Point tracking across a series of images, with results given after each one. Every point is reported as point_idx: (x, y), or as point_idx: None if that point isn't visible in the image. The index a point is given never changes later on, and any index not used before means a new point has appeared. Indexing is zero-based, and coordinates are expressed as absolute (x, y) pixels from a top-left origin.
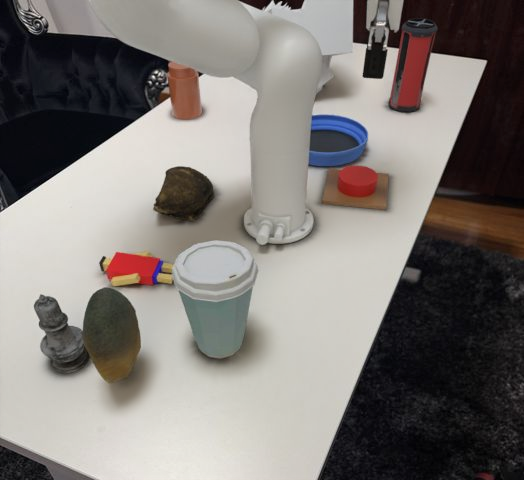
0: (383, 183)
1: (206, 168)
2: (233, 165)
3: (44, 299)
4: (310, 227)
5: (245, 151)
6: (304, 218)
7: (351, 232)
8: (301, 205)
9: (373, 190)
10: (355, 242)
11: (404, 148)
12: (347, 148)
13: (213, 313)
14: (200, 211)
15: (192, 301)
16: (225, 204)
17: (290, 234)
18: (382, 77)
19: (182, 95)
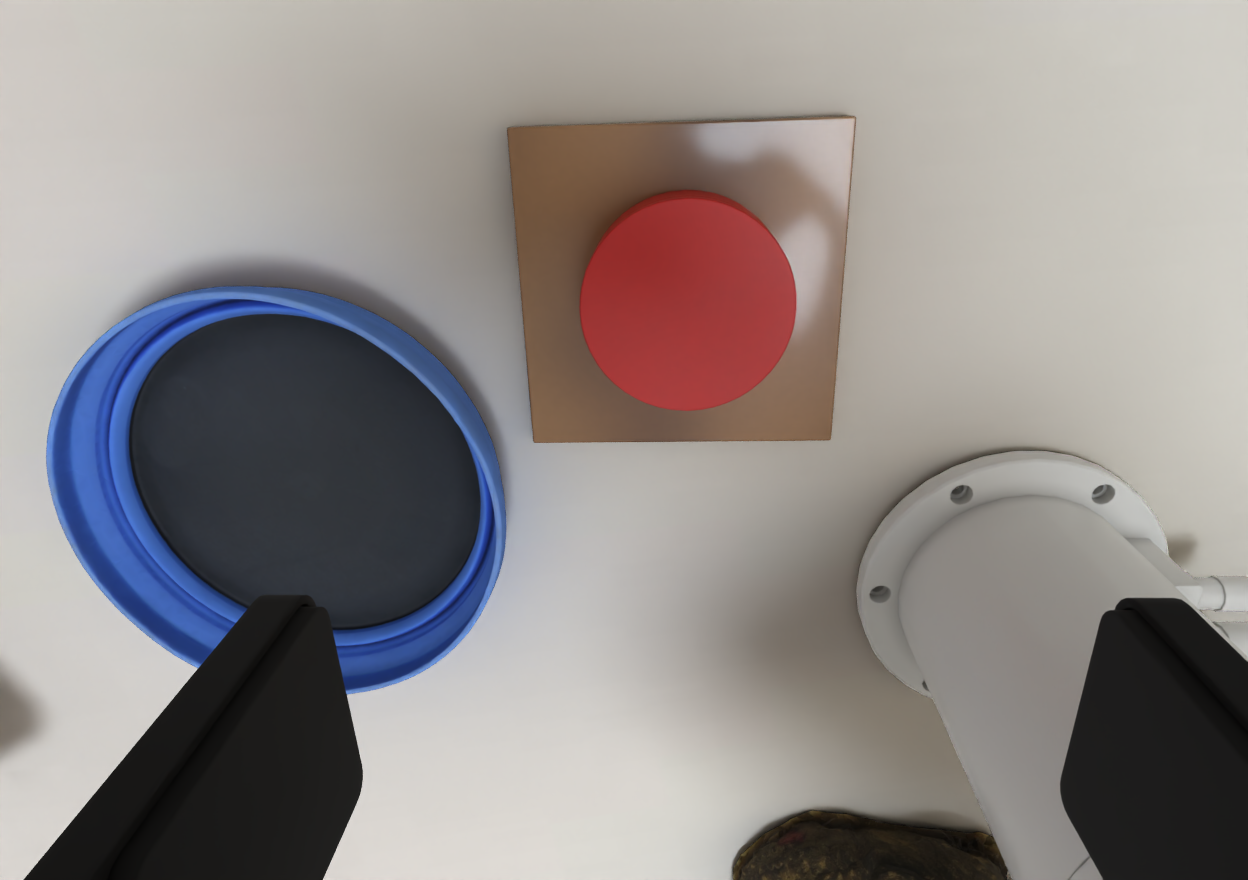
0: (621, 149)
1: (626, 862)
2: (580, 790)
3: None
4: (1081, 465)
5: (456, 770)
6: (1050, 505)
7: (1062, 276)
8: (1146, 566)
9: (736, 203)
10: (1146, 249)
11: (135, 38)
12: (289, 373)
13: None
14: (946, 832)
15: None
16: (872, 766)
17: (1137, 535)
18: (1183, 604)
19: None
